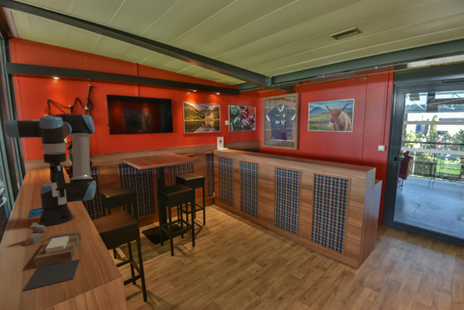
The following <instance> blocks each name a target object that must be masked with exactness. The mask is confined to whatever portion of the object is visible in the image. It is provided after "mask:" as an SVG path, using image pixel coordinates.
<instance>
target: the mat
mask: <svg viewBox="0 0 464 310" xmlns="http://www.w3.org/2000/svg"><path fill="white" fill-rule="evenodd" d="M80 260H81V259H80V258H78V259H74V260H73V259H72V260H70V261H65V262H60V263H56V264H51V265H46V266H41V267H37V268H35V271H34V273H33V274H32V275H31V277H30V279H29V280H28V282H27V284H26V285H25V287H24V289H23V290H22V291H23V292H27V291H29V290H34V289H39V288H42V287H47V286H50V285H54V284H55V285H56V284H60V283H64V282H67V281H71V280H74V278H75V274H76V273H77V269H78V266H79V264H80V262H81V261H80Z"/></svg>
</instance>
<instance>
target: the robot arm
mask: <svg viewBox="0 0 464 310" xmlns="http://www.w3.org/2000/svg"><path fill="white" fill-rule="evenodd" d="M3 127H4V131H5V132H4V133H5V134H6V136H7V137H9V138H14V139H15V138H16V139H17V138H18V139H20V138H26V139H29V138H40V139H41V144H42V145H41V146H40V148H41V149H42V152H43V153H44V154H43V156H42V157H43V162H44V163H45V164H49V173H50V175H49V180H50V182H47V183H43V184H42V185H41V186H40V188H39V189H40V190H39V191H40V192H39V194H40V201H41V208H42V213H41V215H39V218H38V220H39V221H38V224H39V225H44V226H45V227H47V226H48V227H50V226H56V225H60V224H64V223H66V222H69V221H70V220H71V219H72V218H73V214H72V211H71V210H70V208H69V206H68V203H75V202H76V203H77V202H86V201H89V200H90V201H91V200H93V199H94V198H95V194H96V192H97V191H96V190H97V181H96V180H94V178H93V177H92V176H91V170H90V169H91V168H90V167H91V166H90V161H91V160H90V138H92V137H93V136H92V135H93V134H94V133H95V130H96V129H95V123H94V120H93V117H92V116H91V115H90V114H84V113H81V114H80V113H79V114H78V113H77V114H76V113H57V114H56V113H55V114H51V115H45V116H41V117H39V118H35V119H34V118H33V119H25V120H16V119H15V120H7V121H6V122H5V124H4V126H3ZM68 136H70V137H71V138H72V177H71V178H70V179H69V182H66V179H65V172H64V166H63V165H61V163H64V162H66V161H67V154H66V153H65V152H66V151H67V149H66V143H65V138H67V137H68Z"/></svg>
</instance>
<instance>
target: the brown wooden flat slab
mask: <svg viewBox="0 0 464 310" xmlns="http://www.w3.org/2000/svg"><path fill="white" fill-rule="evenodd" d="M81 232H82V231H81V230H75V231H67V232H63V233H56V234H50V235H49V237H48V238H47V240H45V242H44V243H43V245H42V246H41V248H40V249H39V250H38V252H37V254H36V255H35V257H34V258H33V261H34V268H35V269H37V268H39V267H44V266H49V265H54V264H58V263H63V262H68V261H72V260H73V258H74V256H75V254H76V251H77V249H78V246H79V244H80V241H81V239H82V234H81ZM64 236H69V241H68V243H67V245H66V247H65V249H64V250H61V251H55V252H50V253H46V250H45V249H46V247H47V246H48V244H49V243H50V241H51V240H52V238H58V237H64Z"/></svg>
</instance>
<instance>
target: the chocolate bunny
mask: <svg viewBox="0 0 464 310" xmlns="http://www.w3.org/2000/svg"><path fill="white" fill-rule="evenodd" d="M28 229H30V230H32V234H30V235H29V236H28V237H27V238H26V241H25V246H26V247H28V246H33V245H36V244H38V243H41V242H42V241H44V240H45V239H46V238H45V234H46V226H44V225H40V224H39V223H38V222H31V225H30V226H29V227H28Z"/></svg>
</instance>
